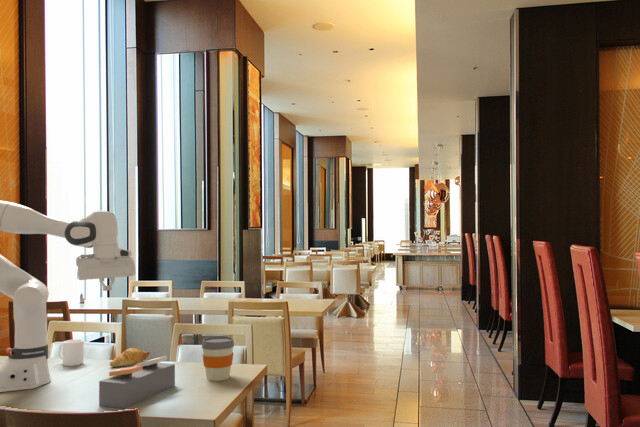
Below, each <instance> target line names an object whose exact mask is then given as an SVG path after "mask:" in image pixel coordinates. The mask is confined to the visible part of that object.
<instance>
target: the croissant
mask: <svg viewBox="0 0 640 427" xmlns="http://www.w3.org/2000/svg"><path fill="white" fill-rule="evenodd" d="M149 356H150V352H149V351H146V350H145V351H144V350H141V349H139V348H138V347H129V348H127V349H125V350H124V351H122V353H120V354H118V356H117V357H115V358H113V360H112V361H110V362H109V366H110V367H112V368H115V367H117V368H118V367H128V366H129V367H131V366H134V365H136V364H138V363H140V361H141V362H143V361H146V359H147V358H148V357H149Z"/></svg>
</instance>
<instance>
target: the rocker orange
mask: <svg viewBox="0 0 640 427" xmlns="http://www.w3.org/2000/svg"><path fill="white" fill-rule="evenodd" d="M140 370H143V367H142V365H141V366H135V367H133V366H129V367H128V366H127V367H121V368H118V369H114V370H112V371H109V372H108V374H109V375H108V376H109V377H113V376H116V375H123V374H130V373H135V372H137V371H140Z"/></svg>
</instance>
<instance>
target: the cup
mask: <svg viewBox="0 0 640 427" xmlns="http://www.w3.org/2000/svg"><path fill="white" fill-rule="evenodd" d="M84 341H85V340H84V339H77V338H75V339H68V340H64V341H63V342H62V343H61V344H59V345H60V346H59V348H58V356H59V358H60V359H61V360H62V365H63V366H65V367H74V366H75V365H77V366H81V365H83V363H84V354H85V352H84V351H85V350H84V348H85V347H84V344H85V342H84ZM80 364H81V365H80ZM75 367H76V366H75Z"/></svg>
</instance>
